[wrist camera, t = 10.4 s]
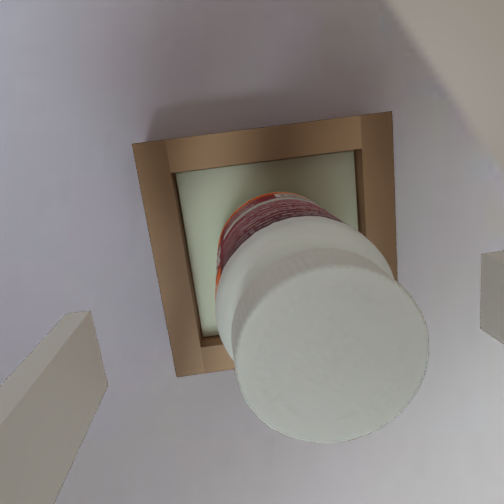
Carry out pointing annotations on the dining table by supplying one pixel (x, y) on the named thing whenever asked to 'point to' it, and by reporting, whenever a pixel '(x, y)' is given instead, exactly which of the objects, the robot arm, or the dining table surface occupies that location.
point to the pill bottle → (315, 321)
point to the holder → (243, 189)
